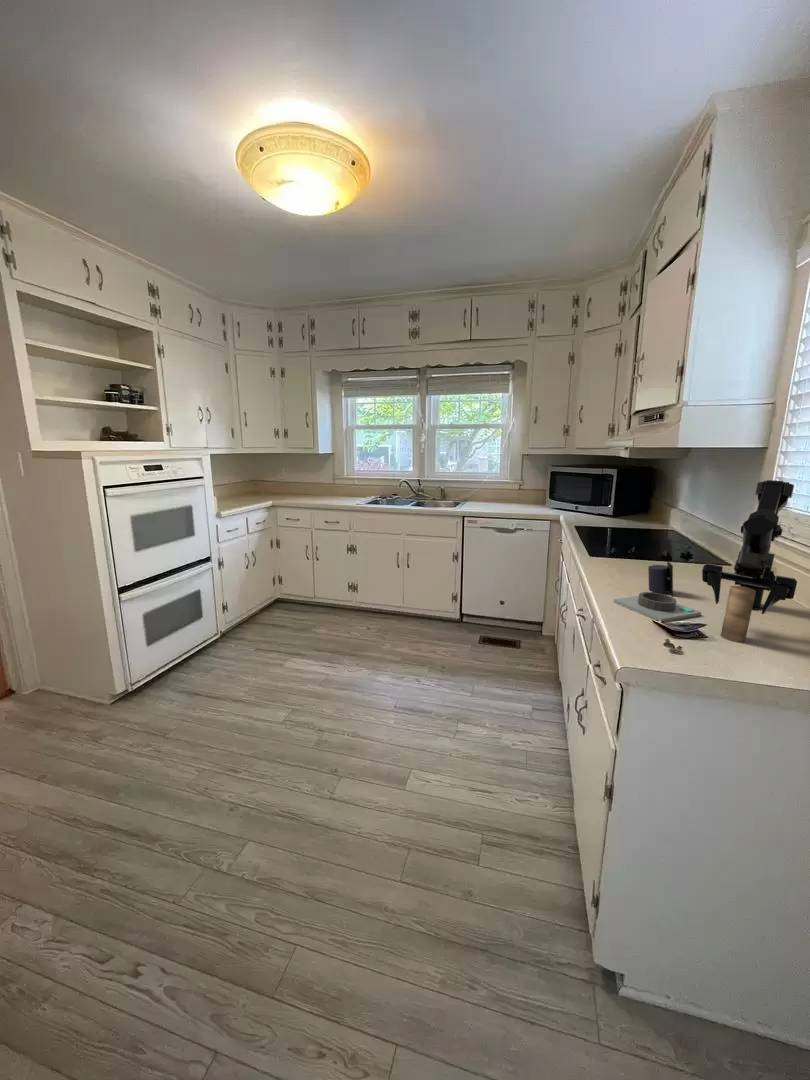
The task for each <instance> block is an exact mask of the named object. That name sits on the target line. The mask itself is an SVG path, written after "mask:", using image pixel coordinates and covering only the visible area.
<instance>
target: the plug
mask: <svg viewBox="0 0 810 1080" xmlns="http://www.w3.org/2000/svg"><path fill="white" fill-rule="evenodd" d="M755 593H756V591H755V590H754V589H751V588H747V587H742V586H740V585H730V587H729V591H728V596H727V601H726V608H725V612H724V615H723V622H722V627H721V632H720V636H721V638H723V639H725V640H727V641H730V642H734V643H745V642H746V639H747V634H748V630H749V626H750V625H749V624H750V620H751V615H752V612H753V610H752V607H753V602H754V598H755Z"/></svg>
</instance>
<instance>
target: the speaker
mask: <svg viewBox="0 0 810 1080" xmlns="http://www.w3.org/2000/svg"><path fill="white" fill-rule="evenodd" d="M647 569H648V591H649V590H650V591H649V592H651V591H653V592H654V593H660V594H664V593H668V592H669V593H670V594H669V593H668V594H669V596H671V597H674V585H673V584H674V582H673V581H674V575H673V574H674V573H673V572H674V566H673V564H672V563H671V562H670V561H666V565H663V564H652V565H649V566H648V567H647Z"/></svg>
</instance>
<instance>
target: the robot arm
mask: <svg viewBox="0 0 810 1080" xmlns="http://www.w3.org/2000/svg"><path fill="white" fill-rule="evenodd" d="M755 489H756V490H755V496H757V504H758V505H757V508H756V511H753V512H752V513H750V514H749V516H748V518H747V519H746V520H745V521H744V522H743V523H742V525H741V526H740V534H742V545H741V549H740V551H739V552H738V555H737V559H736V560H735V564H734V567H733V570H734V572H729V571H725V570H723V567H724V566H723V565H718V564H715V563H714V564H713V563H708V562H707V563H705V564H704V565H703V567H702V570H701V571H702V572H701V574H702V576H701V577H702V579H701V580H702V582H703V583H706V584H707V586H708V587H709V586H710V587H711V589H712V590H713V595H714V601H715V604H716V605H718V604H719V601H720V593H721V586H722V580H728V581H731V582H734V586H742V587H747V588H751V589H754V590H755V591H756V593H755V598H754V602H753V607H752V611H754V610H761V615H765V614H766V613H767V612H768V610H770V608H771V607H772V606H774V605H775V604H776V603H778V602H780V601H786V600H787V599H789V600H792V599H794V598H795V597H794V596H795V593H796V590H797V584H798V581H797V579H796V578H794V577H789V576H788V577H787V576H783V575H775V573H774V572H775V571H773V570H772V569H773V564H774V560H775V559H774V558H775V556H776V555H775V553H770V550H771V543H772V542H774V541H775V539H778V538H780V536H782V535H783V528H782V525H781V524H779V519H780V517H779V516H778V514H779V512H780V511H781V510H782V509H783V508H785V507H786V506H787V505H788V501H789V499H792V497H793V493H794V489H795V484H792V483H790V482H789V481H784V480H771V479H767V480H763V481H758V482H757V484H756V488H755ZM765 591H767V592H769V593H768V595H767V598H766V600H765V602H764V604H763V603H762V601H763V596H764V594H765V593H764V592H765Z"/></svg>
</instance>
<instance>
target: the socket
mask: <svg viewBox="0 0 810 1080" xmlns="http://www.w3.org/2000/svg"><path fill="white" fill-rule="evenodd" d="M677 601H678V600H676V598H674V596H671V595H668V594H664V593H656V592H651V591H643V592H640V593H639V594H638V595H635V596H627V597H620V598H614V599H613V604H617V605H619V606H622V607H623V608H626V609H629V610H630V611H633V612H635V613H638V614H640V615H642V616H645V617H647V618H650V619H652V620H654V621H656V620H658V621H657V622H659V621H666V622H671V621H676V620H683V619H689V618H694V617H700V616H701V615H702V611H699V610H696V609H693V608H691V607H688V606H685V605H683V604H680V603H677Z"/></svg>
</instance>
